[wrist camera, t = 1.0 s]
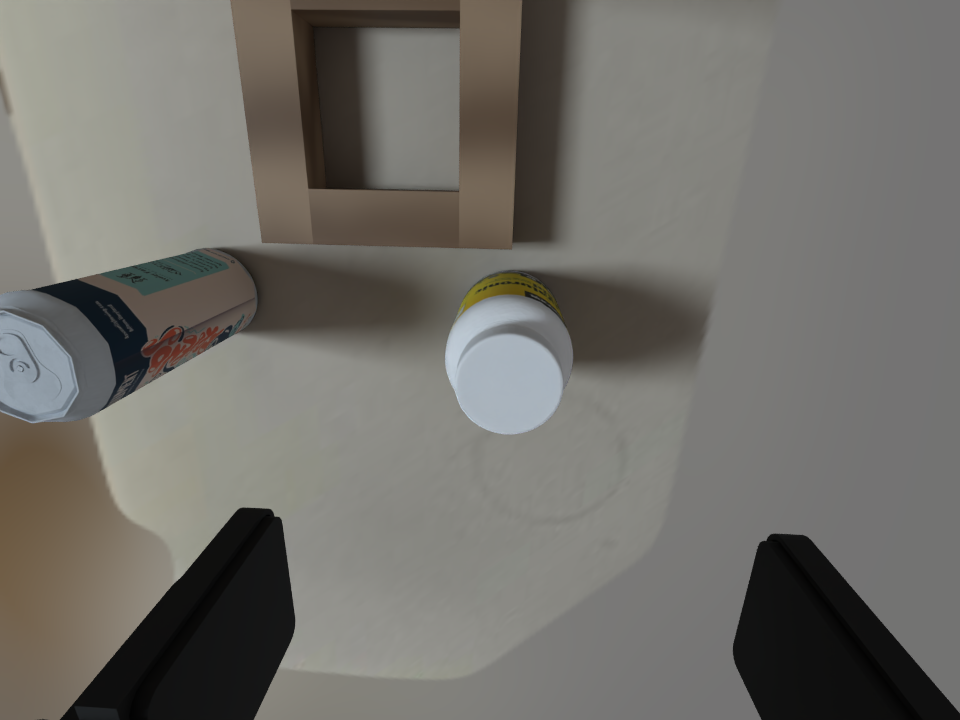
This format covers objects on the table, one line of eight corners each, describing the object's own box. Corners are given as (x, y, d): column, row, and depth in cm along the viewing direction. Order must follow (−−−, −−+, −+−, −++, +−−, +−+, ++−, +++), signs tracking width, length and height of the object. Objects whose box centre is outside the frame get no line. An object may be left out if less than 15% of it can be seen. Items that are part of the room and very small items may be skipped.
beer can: (198, 339, 28) (-4, 445, 17) (161, 258, 27) (-87, 315, 16) (275, 322, 28) (117, 420, 17) (242, 237, 26) (44, 281, 15)
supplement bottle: (572, 283, 26) (607, 340, 17) (540, 374, 28) (556, 470, 19) (473, 255, 26) (456, 297, 17) (448, 348, 28) (419, 432, 19)
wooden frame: (252, -40, 22) (221, -66, 20) (522, -39, 22) (524, -66, 19) (284, 237, 26) (262, 242, 24) (511, 242, 26) (512, 249, 23)
